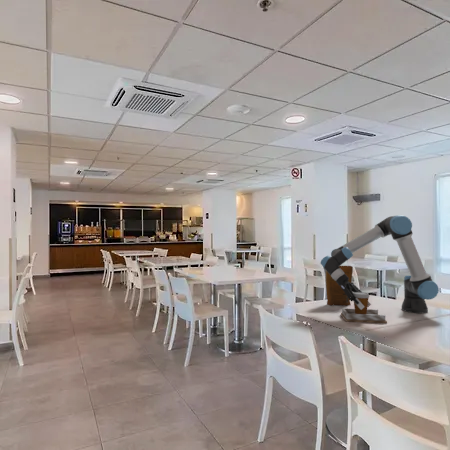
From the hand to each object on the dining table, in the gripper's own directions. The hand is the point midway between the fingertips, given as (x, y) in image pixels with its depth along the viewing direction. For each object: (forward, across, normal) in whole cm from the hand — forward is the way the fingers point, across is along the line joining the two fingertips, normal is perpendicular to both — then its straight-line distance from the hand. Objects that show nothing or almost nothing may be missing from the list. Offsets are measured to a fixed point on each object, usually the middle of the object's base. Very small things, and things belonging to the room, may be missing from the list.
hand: (366, 307), depth 202 cm
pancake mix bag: (-16, -28, -26) cm, 41 cm away
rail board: (+4, -1, -7) cm, 8 cm away
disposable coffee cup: (+1, 0, -6) cm, 6 cm away
